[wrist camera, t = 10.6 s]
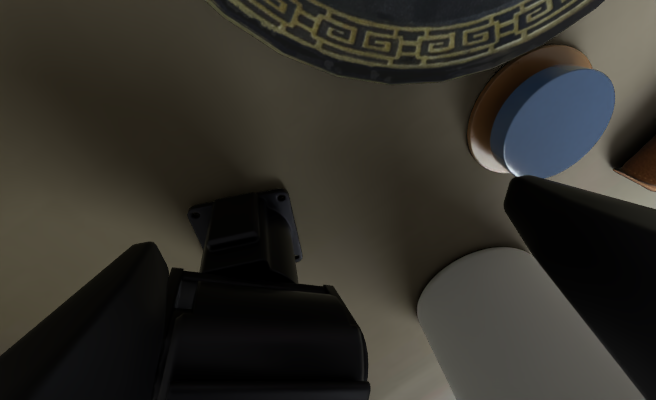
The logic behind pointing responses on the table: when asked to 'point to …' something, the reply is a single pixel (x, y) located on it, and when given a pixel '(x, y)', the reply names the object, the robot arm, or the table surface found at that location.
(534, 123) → the flat blue disc
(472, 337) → the cylinder vase
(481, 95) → the coaster
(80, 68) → the table surface
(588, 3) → the decorative plate
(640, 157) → the sunglasses case
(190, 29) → the table surface
